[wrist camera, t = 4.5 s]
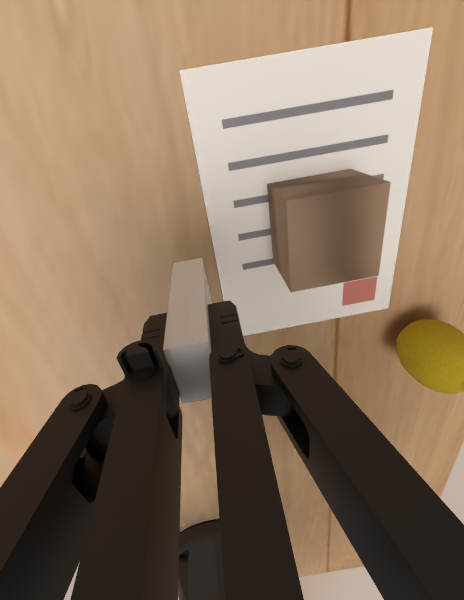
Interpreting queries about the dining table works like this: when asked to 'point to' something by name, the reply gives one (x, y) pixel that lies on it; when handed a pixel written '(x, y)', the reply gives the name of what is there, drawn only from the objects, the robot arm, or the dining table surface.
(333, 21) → the dining table surface
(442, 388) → the lemon
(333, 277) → the walnut block
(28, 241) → the dining table surface
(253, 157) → the letter
